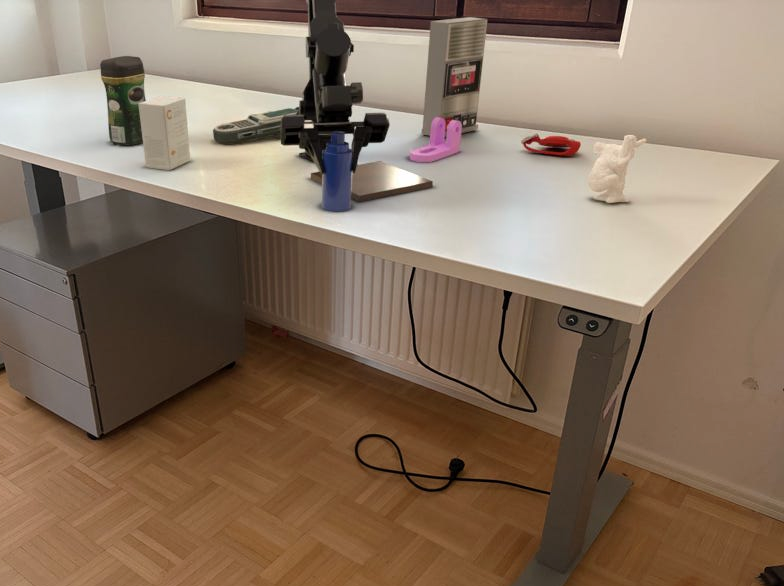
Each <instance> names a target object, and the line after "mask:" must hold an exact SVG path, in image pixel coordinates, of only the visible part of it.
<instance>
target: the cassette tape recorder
mask: <svg viewBox="0 0 784 586" xmlns="http://www.w3.org/2000/svg"><path fill="white" fill-rule="evenodd" d="M488 21H489V20H488V18H482V17H473V16H468V17H460V18H459V17H458V18H451V19H450V18H448V19H440V20H430V24H429V25H430V26H429V27H430V28H429V40H428V51H427V64H426V65H427V66H426V76H425V77H426V78H425V93H424V103H423V104H424V106H423V116H422V117H423V118H422V128H421V133H420V134H422V135H424V136H429V137H430V131H431V124H432V121H433V120H434V118H436V117H439V118H443V119H444V120H445V135H444V138H446V136H447V128H448V125H449V123H450V121H452V120H456V121H460V122H461V124H462V130H461V134H464V133H469V132H472V131H473V132H475V131H477V130H478V129H479V124H477V119H478V110H479V109H478V108H479V102H480V101H479V99H480V90H481V83H482V73H483V72H482V71H483V63H484V55H485V45H486V38H487V28H488Z"/></svg>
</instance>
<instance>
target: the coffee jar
mask: <svg viewBox="0 0 784 586" xmlns="http://www.w3.org/2000/svg"><path fill="white" fill-rule="evenodd" d="M99 67H100V78H101V81H102V83H103V85H104V89H105V94H106V106H107V123H108V124H107V125H108V127H107V128H108V136H109V137H108V138H109V141H110V142H111V143H113V144H114V145H117V146H123V145H124V146H125V145H127V146H132V145H134V146H135V145H137V144H142V143H143V138H142V130H141V121H140V113H139V105H138V103H141V102H144V101H147V100H146V93H145V77H146V73H145V67H144V63H143V60H142V59H141V57H139V56H133V55H121V56H116V57H112V58H107V59H102V60H101V61H100V65H99Z"/></svg>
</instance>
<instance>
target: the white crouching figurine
mask: <svg viewBox="0 0 784 586" xmlns="http://www.w3.org/2000/svg"><path fill="white" fill-rule="evenodd" d="M646 142H647V139H646V138H642V139H639V140H638V138H637V136H635V135H634V134H626V135H624V138H623V141H622V144H614V143H604V142H602V141H596V142H595V143H594V145H593V148H592V152H593V154H595V155H599V157H598V158H597V159H596V160H595V162H594V164H593V166H592V168H591V170H590V173H589V175H588V186H589V188H590V190H592V191H593V192H595V193H597V194H594V195H593V199H594V200H596V201H602V202H606V203H608V204H614V203H629V202H630V201H629V198H628V197H627V196H625V195H624V189H625V187H626V186H625V184H626V176H627V171H628V165H629V163H631V161H632V159H633V158H634V156H635V150H634V149H636V148H639V147H641V146H642V145H644V144H645V143H646Z"/></svg>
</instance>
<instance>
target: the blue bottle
mask: <svg viewBox="0 0 784 586" xmlns="http://www.w3.org/2000/svg"><path fill="white" fill-rule="evenodd" d="M345 138H346V134H345V133H344V132H341V131H335V132H332V133H331V142H328V143H327V148H325V149H323V157H322V158H323V164H324V174H322V184H321V208H322V209H323V210H325V211H329V212H345V211H348V210H350V209H352V198H351V193H352V160H353V150H352V149H351V147H350V143H349V142H348V141H346V139H345Z"/></svg>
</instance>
